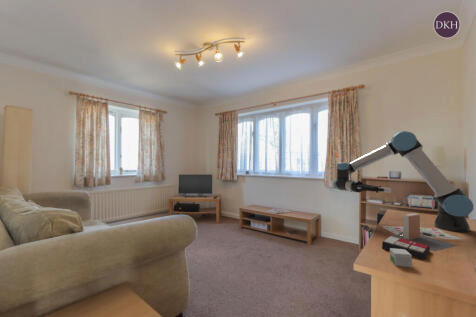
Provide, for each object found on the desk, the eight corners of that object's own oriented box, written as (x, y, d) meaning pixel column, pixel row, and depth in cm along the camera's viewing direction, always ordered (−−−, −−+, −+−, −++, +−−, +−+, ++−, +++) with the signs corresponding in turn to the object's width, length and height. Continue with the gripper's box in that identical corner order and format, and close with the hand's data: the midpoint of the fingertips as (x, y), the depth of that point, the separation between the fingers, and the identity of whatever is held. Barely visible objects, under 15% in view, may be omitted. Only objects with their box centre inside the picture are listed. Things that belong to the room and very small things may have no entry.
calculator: (424, 252, 88) (382, 239, 100) (423, 262, 88) (381, 249, 100) (430, 245, 95) (389, 234, 107) (429, 255, 95) (389, 243, 107)
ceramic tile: (414, 236, 115) (414, 213, 115) (420, 237, 113) (420, 214, 113) (403, 238, 112) (403, 214, 112) (409, 239, 110) (408, 216, 110)
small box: (389, 259, 89) (389, 247, 89) (406, 261, 87) (405, 249, 87) (394, 266, 84) (394, 253, 84) (412, 268, 82) (412, 255, 82)
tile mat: (410, 233, 121) (410, 232, 121) (458, 246, 102) (458, 245, 102) (388, 237, 115) (388, 236, 115) (434, 252, 96) (434, 251, 96)
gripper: (361, 191, 147) (398, 196, 125) (347, 192, 142) (382, 198, 120) (361, 180, 147) (398, 183, 125) (347, 180, 142) (382, 184, 120)
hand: (390, 190), depth 123 cm, fingers closed
